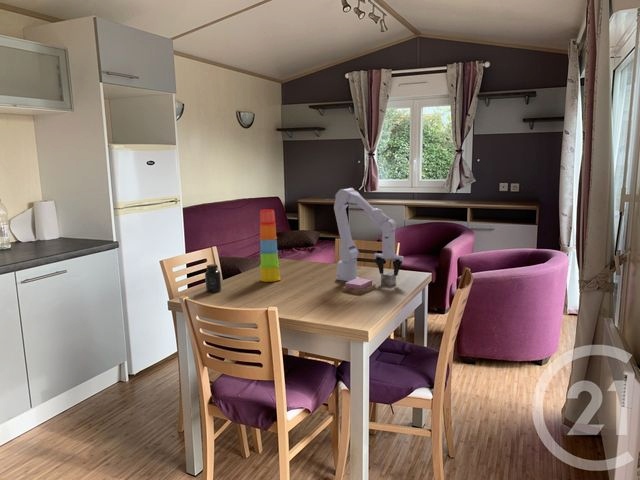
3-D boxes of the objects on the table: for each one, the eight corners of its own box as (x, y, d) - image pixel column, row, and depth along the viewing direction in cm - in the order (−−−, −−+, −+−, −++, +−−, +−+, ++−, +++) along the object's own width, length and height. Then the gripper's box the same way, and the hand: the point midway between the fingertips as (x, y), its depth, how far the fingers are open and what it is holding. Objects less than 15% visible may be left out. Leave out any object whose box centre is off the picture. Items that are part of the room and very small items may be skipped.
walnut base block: (342, 292, 217) (342, 287, 217) (357, 286, 226) (356, 281, 226) (361, 296, 211) (361, 290, 211) (375, 289, 220) (375, 284, 220)
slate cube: (381, 284, 227) (381, 274, 226) (386, 282, 231) (386, 272, 230) (390, 286, 224) (390, 275, 223) (395, 283, 228) (395, 273, 227)
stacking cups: (256, 281, 237) (253, 210, 231) (266, 276, 246) (263, 208, 240) (275, 283, 233) (272, 211, 227) (284, 278, 242) (282, 209, 236)
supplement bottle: (224, 289, 224) (222, 264, 222) (216, 293, 218) (214, 267, 216) (211, 288, 226) (209, 263, 224) (203, 292, 220) (201, 266, 218)
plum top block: (345, 287, 217) (345, 282, 216) (357, 282, 225) (356, 277, 224) (360, 289, 212) (360, 285, 212) (372, 284, 220) (372, 280, 220)
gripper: (370, 245, 226) (370, 274, 228) (398, 248, 217) (398, 278, 219) (378, 243, 231) (378, 271, 233) (405, 246, 222) (405, 275, 225)
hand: (388, 274), depth 227 cm, fingers open, 7 cm apart
